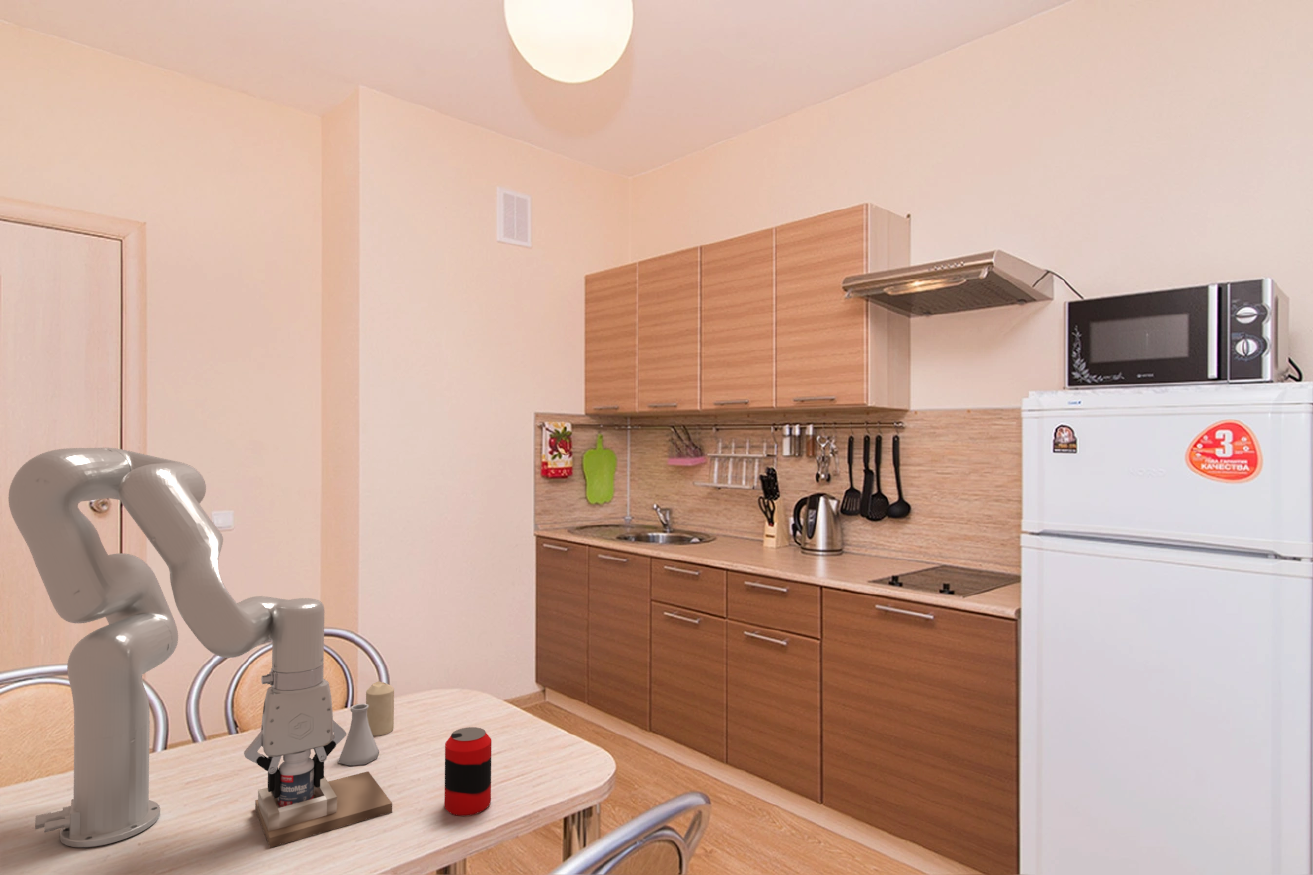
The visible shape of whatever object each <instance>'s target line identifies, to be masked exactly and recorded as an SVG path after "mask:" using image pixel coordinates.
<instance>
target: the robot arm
mask: <svg viewBox="0 0 1313 875" xmlns="http://www.w3.org/2000/svg"><path fill="white" fill-rule="evenodd" d="M206 493H207V484H206V480H205V478H204V476H203V475H202V474H201V472H200V471H198V469H197V468H196V467H193V466H192V465H189V464H187V463H185V462H181V461H178V460H177V461H176V460H172V459H167V458H163V457H162V458H161V457H157V456H153V455H148V454H145V453H140V452H135V451H130V450H127V449H123V448H115V447H114V448H113V447H69V448H60V449H53V450H48V451H45V452H42V453H40V454H38V455H36V456H34V457H32V458H31V459H29V460H27V461H26V462H25V463H24V464H23V465H22V466H21V467H20V468H19V469H18V470H17V471H16V473H15V475H14V477H13V478H12V480H11V483H10V486H9V489H8V507H9V511H10V514H11V516H12V519H13V521H14V523H15V525H16V527H17V529H18V530H19V533H20V534H21V536H22V537H23V539H24V541H25V544H26V545H27V547H28V549H29V551H30V554H31V555H32V559H33V561H34V565H35V567H36V569H37V571H38V574H39V576H40V578H41V581H42V583H43V586H44V588H45V590H46V592H47V595H48V596H49V597H48V598H49V600H50V602H51V604H52V606H53V608H54V610H55V611H56V613H57V614H58V616H59V618H61V619H63V620H64V621H65V622H68V623H71V624H87V623H90V622H94V621H98V620H101V619H104V618H105V619H106V621H107V623H108V624H107V625H105V626H102V627H100V628H98V629H96V630H93V631H92V632H89V633H88V634H87V635H85V636H84V637H82V638H81V639H80V640H79V641H78V642H77V643H76V645H75V646H74V647H73V648H72V650H71V652H70V653H69V657H68V659H67V666H66V667H67V669H66V670H67V677H68V682H69V687H70V690H71V695H72V704H73V720H74V721H73V739H74V740H73V798H72V799H71V802H70V805H69V806H65V807H62V810H59V811H58V810H57V811H53V812H51V811H50V812H46V813H43V814H38V815H35V820H34V821H35V822H34V830H39V829H42V828H43V831H44V833H48V832H51V831H52V832H53V831H56V830H59V829H60V831H59V840H60V841H61V843H62V844H63V845H65V846H69V847H73V848H91V847H92V848H93V847H99V846H104V845H109V844H113V843H116V842H117V843H118V842H120V841H123V840H125V839H129V838H131V837H133V836H136V835H137V834H139V833H140V834H141V833H142V832H143V831H145V830H147V829H149V828H150V827H151V826H153V824H155V823H156V821H158V820H159V818H160V815H161V806H160V804H159V803H158V802H156V801H153V800H149V799H150V730H151V729H150V721H151V720H150V716H151V715H150V700H149V697H148V696H149V695H148V693H147V690H146V688H145V685H144V682H143V675H145V673H147V672H150V671H151V670H154V669H155V668H157V667H158V666H160V665H162V664H163V663H165V662H166V661H167V660H168V659H169V658H170V657H171V656H172V655H173V654H174V652H175V651H176V648H177V647H178V642H179V631H178V627H177V623H176V621H175V618H174V616H173V613H172V612H171V607H170V606H169V605H168V601H167V599H166V597H165V595H164V592H163V590H162V588H161V585H160V583H159V580H158V579H157V576H156V574H155V572H154V570H153V569H152V567H151V566H149V564H148V563H146V561H145V560H143V559H142V558H140V557H138V556H136V555H134V554H130V553H123V552H122V553H112V554H108V552H107V550H106V548H105V547H104V544H103V542H102V539H101V537H100V534H99V532H98V530H97V528H96V527H95V525H94V524H93V523H92V521H91V520H90V519H89V518H88V517H87V516H86V515H85V514H83V512H81V510H80V509H79V504H80V503H81V502H92V501H98V500H105V499H112V500H119V501H121V504H122V505H123V508H125V510H126V511H127V513H128V514H129V516H131V518H132V520H133V521H134V522H135V524H136V525H137V526H138V527H139V529H140V530H141V531H142V533H143V534H144V535H145V537H146V538H147V539H148V541H149V542H150V544H151V545H152V547H154V549H155V550H156V552H157V553H158V554H159V556H160V557H161V558H162V560H163V561H164V563H165V564H166V565H167V568H168V571H169V582H170V587H171V591H172V595H173V599H174V602H175V607H176V608H177V610H178V612H179V615H180V616H181V618H182V620H183V621H184V622H185V625H187V626H188V628H189V629H190V631H191V632H192V634H193V635H194V636H195V637H196V639H198V641H199V642H200V643H201V645H202V646H203V647H204V648H206V649H207V651H209V652H210V653H212V654H213V655H215V656H218V657H220V658H225V659H233V658H238V657H241V656H243V655H245V654H247V653H249V652H250V651H252V650H253V649H255V648H257V647H258V646H260V645H262V644H264V643H267V642H269V641H271V642H272V643H271V644H272V645H271V646H272V647H271V648H272V649H271V650H272V651H271V668H270V671H269V673H267V674H265V675H264V674H263V675H261V680H260V681H261V685H265V684H267V685H270V686H269V687H268V688H267V690H266V693H265V697H264V702H263V709H262V716H261V726H260V727H261V728H260V731H259V733H258V734H257V736H256V737H255V738H254V739H253V741H252V742H250V744H249V745H248V746H247V747H246V749H245V750H244V751H243V756H244V757H245V759H247V760H249V761H251V762H253V763H255V764H256V765H257V766H259V767H261V768H262V769H264V770H265V771H267V788H268V792H271V791H272V793H273V796H274V798H278V797H279V796H280V772H279V766H280V765H279V764H280V762H281V758H282V757H283V755H288V754H292V753H297V752H301V751H306V750H310V749H311V750H313V751H314V753H315V754H314V756H312V758H311V759H312V760H313V761H314V786H315V787H316V788H318V787H320V779H323V778H324V776H325V762H326V761H327V758H328V756H330V754H331V753H332V752H333V751H334V750H335V748H336V747H337V745H338V744H340V743H341V741H342V740H343V739H344V738H345V737H346V736H347V732H346V731H345V730H344V729H343V727H341V726H340V724H339V723H337V722H336V721H335V720H334V714H333V713H334V712H333V702H332V692H331V686H330V683H329V681H328V680H326V678H325V679H324V666H325V665H324V654H325V653H324V652H325V606H324V604H323V601H320V600H319V599H316V598H309V597H305V598H304V597H302V598H301V597H300V598H292V599H285V598H277V597H272V596H271V597H270V596H263V595H256V596H250V597H247V598H245V599H243V600H241V601H239V602H236V600H235V599H234V598H233V596H232V595H231V593H230V592H229V590H228V589H227V588H226V586H225V584H224V582H223V579H222V577H221V575H220V574H221V573H220V570H219V558H220V556H221V555H220V554H221V551H222V549H223V542H224V537H223V534H222V533H221V531H220V530H219V529H218V527H217V525H215V523H214V521H212V519H211V518H210V516H209V515H208V514H207V512H206V511H205V510H204V508H203V507H202V506H201V502H202V501H203V500H204V498H205V496H206ZM261 748H262V750H263V753H264V754H262V753H260V752H259V750H260V749H261Z"/></svg>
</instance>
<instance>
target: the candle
mask: <svg viewBox="0 0 1313 875" xmlns="http://www.w3.org/2000/svg"><path fill="white" fill-rule="evenodd" d="M365 704H368V705H369V707H368V709H367V718H368V724H369V727H370V729H371V732H372V735H373V737H376V736H377V737H378V736H384V735H387V734H390V733H392V732H393V731H394V727H395V726H394V725H395V688H394V687H393V685H392V684H388V683H387V682H383V681H376V682H374V683H372V685H370V686H369V687H368V689H367V690H366V691H365Z"/></svg>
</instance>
